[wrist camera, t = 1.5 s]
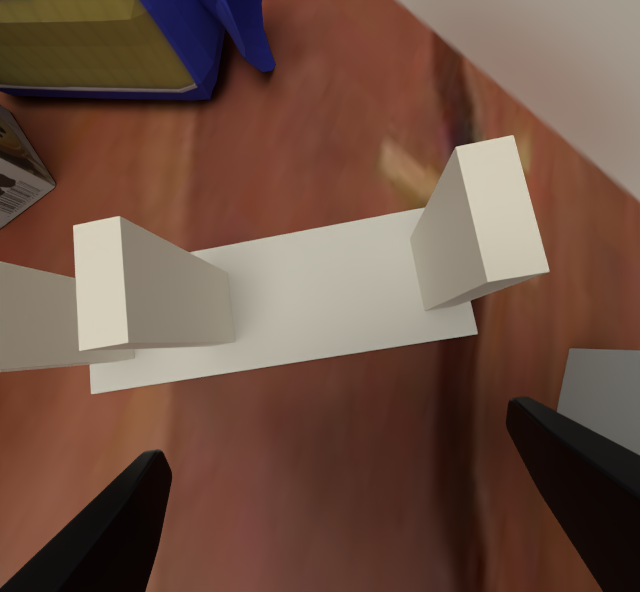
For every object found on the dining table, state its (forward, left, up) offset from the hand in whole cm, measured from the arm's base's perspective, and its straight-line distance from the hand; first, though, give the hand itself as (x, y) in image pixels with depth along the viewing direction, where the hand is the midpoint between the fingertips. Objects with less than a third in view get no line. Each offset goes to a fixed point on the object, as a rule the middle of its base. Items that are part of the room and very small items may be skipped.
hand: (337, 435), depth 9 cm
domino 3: (+6, -7, -14) cm, 16 cm away
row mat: (+6, +5, -14) cm, 16 cm away
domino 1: (+6, +16, -14) cm, 22 cm away
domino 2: (+6, +8, -14) cm, 17 cm away
